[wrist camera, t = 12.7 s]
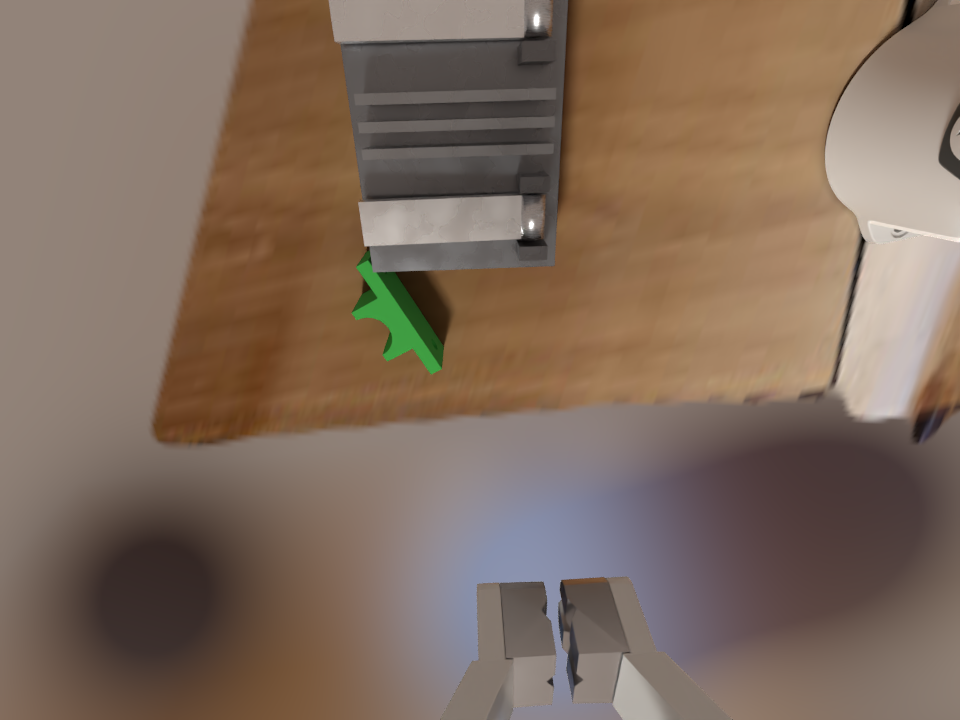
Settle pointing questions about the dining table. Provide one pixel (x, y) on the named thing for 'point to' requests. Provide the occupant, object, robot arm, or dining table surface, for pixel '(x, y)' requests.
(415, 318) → the pipe clamp
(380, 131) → the heatsink block
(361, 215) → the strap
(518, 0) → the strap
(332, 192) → the dining table surface
